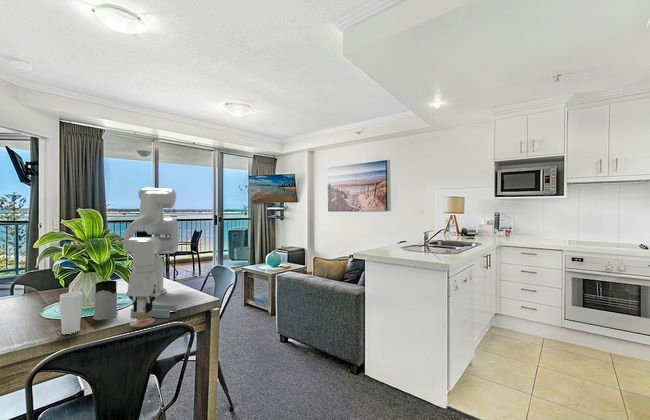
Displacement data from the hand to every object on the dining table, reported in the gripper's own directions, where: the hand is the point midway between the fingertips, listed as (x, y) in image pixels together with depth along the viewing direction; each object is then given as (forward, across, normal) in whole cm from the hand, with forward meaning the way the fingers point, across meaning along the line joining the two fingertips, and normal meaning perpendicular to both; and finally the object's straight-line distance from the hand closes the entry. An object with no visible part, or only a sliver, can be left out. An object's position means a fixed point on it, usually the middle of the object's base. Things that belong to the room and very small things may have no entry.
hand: (142, 310), depth 123 cm
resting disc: (+5, 0, 0) cm, 5 cm away
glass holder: (+5, -21, +8) cm, 23 cm away
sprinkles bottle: (+4, 0, 0) cm, 4 cm away
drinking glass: (+5, -21, -11) cm, 24 cm away
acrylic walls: (+5, 0, +9) cm, 10 cm away
